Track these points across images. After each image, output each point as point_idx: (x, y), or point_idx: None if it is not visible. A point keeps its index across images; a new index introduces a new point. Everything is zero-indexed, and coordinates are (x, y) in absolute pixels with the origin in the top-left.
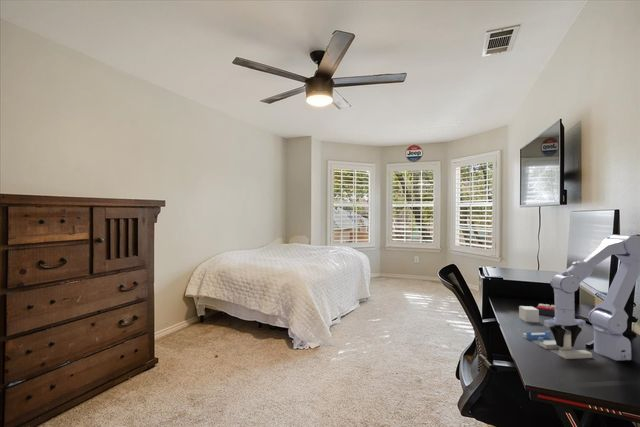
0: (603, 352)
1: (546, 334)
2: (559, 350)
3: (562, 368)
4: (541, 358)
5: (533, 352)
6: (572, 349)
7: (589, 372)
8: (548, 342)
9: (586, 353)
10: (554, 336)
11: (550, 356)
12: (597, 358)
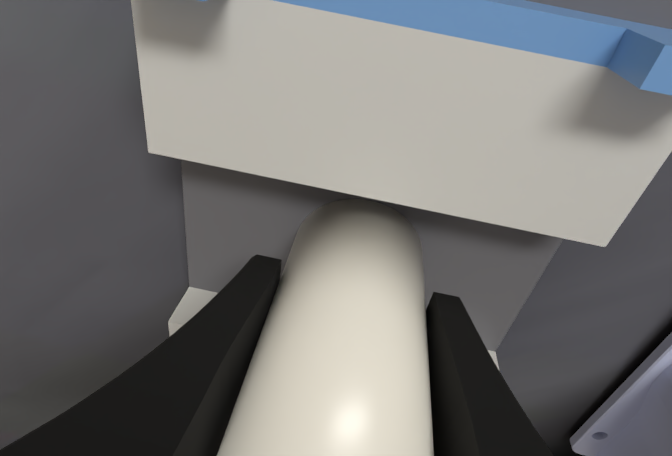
0: (664, 442)
1: None
2: (299, 229)
3: (93, 361)
4: (23, 220)
5: (9, 82)
6: (525, 246)
7: None
8: (275, 87)
9: None
10: (173, 345)
11: (148, 217)
12: (573, 370)
